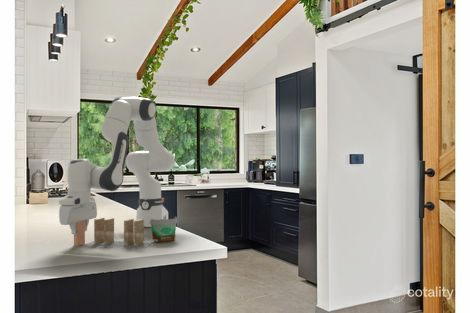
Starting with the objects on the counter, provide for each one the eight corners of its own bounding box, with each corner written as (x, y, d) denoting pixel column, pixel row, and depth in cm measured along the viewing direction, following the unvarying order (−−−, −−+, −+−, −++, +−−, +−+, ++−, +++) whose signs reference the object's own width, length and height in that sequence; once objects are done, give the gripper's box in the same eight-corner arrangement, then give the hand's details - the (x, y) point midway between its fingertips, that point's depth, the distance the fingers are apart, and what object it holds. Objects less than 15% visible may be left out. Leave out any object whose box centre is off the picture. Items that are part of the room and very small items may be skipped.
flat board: (97, 240, 177) (97, 239, 177) (153, 243, 170) (153, 242, 170) (83, 245, 167) (83, 244, 167) (142, 249, 161) (142, 248, 161)
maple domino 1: (94, 243, 169) (94, 219, 169) (101, 241, 174) (101, 217, 174) (97, 244, 168) (97, 219, 168) (104, 241, 173) (104, 217, 173)
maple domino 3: (124, 245, 165) (123, 220, 165) (130, 242, 170) (130, 218, 170) (127, 245, 165) (127, 220, 165) (133, 243, 170) (133, 218, 170)
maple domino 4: (134, 246, 164) (134, 221, 164) (140, 243, 169) (140, 219, 169) (137, 246, 164) (137, 221, 164) (143, 243, 169) (143, 219, 169)
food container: (156, 245, 167) (156, 220, 167) (149, 243, 172) (149, 219, 172) (183, 241, 174) (183, 218, 174) (176, 239, 179) (176, 216, 179)
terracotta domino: (73, 246, 166) (73, 221, 166) (81, 243, 170) (81, 219, 170) (77, 246, 165) (77, 221, 165) (84, 244, 170) (84, 219, 170)
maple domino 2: (104, 244, 168) (104, 219, 168) (110, 241, 173) (110, 218, 173) (107, 244, 167) (107, 219, 167) (114, 242, 172) (114, 218, 172)
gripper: (87, 195, 179) (87, 227, 179) (56, 201, 159) (56, 236, 159) (100, 196, 177) (100, 228, 177) (70, 201, 157) (70, 237, 157)
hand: (79, 232), depth 168 cm, fingers closed on terracotta domino, 5 cm apart
